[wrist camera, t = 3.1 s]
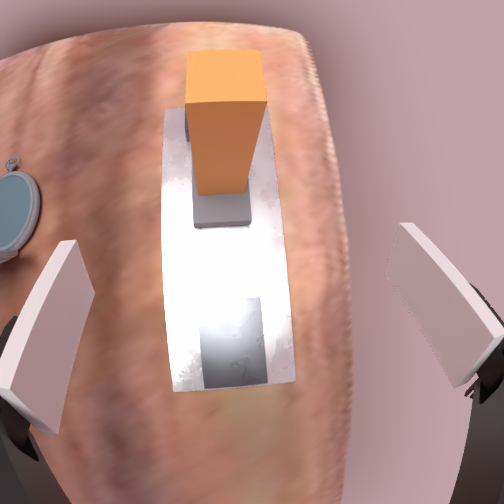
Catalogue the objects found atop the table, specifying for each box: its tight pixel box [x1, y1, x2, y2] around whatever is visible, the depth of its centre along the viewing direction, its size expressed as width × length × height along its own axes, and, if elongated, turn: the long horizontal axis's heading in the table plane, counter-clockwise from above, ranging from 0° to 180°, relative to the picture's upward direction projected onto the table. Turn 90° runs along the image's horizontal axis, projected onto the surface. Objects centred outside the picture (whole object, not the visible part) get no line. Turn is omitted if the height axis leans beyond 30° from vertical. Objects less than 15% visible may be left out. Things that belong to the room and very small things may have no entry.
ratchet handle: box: [185, 50, 267, 228], centre depth 22 cm, size 20×5×14 cm, turn 5°
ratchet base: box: [162, 105, 296, 392], centre depth 27 cm, size 28×11×4 cm, turn 5°
